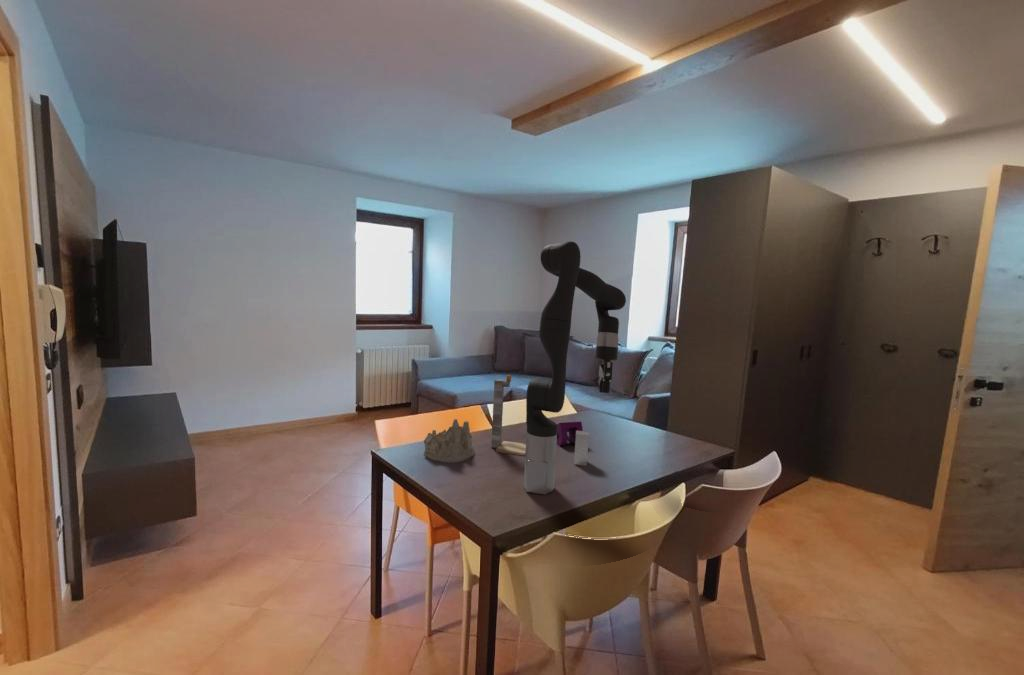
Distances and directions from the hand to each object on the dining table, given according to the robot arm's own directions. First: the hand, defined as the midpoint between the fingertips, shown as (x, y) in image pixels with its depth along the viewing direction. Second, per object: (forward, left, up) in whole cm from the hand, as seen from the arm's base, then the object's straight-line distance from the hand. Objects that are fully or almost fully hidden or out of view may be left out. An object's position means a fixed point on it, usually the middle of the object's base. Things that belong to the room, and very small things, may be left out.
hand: (603, 392), depth 152 cm
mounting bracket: (+24, +17, -27) cm, 40 cm away
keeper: (+5, +34, -26) cm, 43 cm away
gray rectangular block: (0, +7, -26) cm, 27 cm away
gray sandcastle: (-9, +53, -27) cm, 60 cm away
